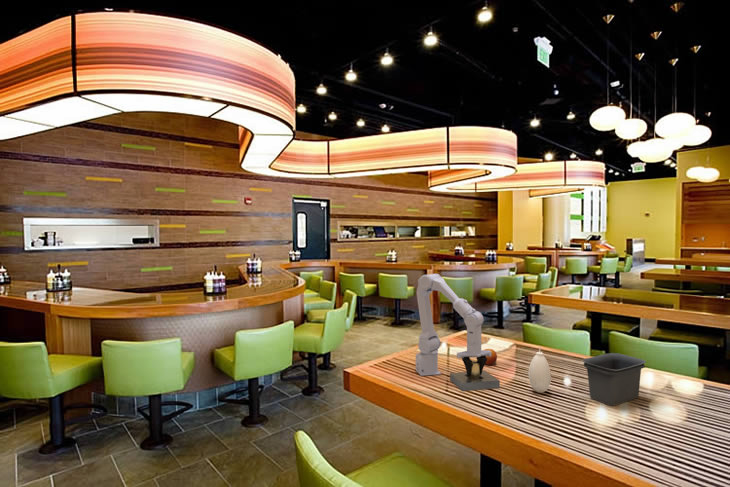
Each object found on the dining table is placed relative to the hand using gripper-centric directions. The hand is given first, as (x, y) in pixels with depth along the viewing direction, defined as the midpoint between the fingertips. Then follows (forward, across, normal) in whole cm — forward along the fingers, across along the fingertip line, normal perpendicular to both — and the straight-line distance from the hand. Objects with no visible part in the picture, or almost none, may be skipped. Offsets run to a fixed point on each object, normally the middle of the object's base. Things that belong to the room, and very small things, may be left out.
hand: (474, 374), depth 160 cm
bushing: (+2, 0, 0) cm, 2 cm away
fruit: (+4, +19, +23) cm, 30 cm away
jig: (+4, 0, 0) cm, 4 cm away
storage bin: (+4, +44, -23) cm, 50 cm away
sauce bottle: (+4, +21, -13) cm, 25 cm away
